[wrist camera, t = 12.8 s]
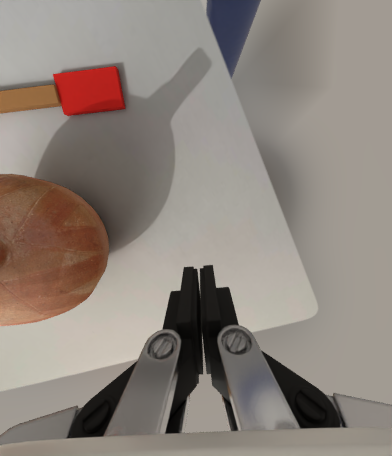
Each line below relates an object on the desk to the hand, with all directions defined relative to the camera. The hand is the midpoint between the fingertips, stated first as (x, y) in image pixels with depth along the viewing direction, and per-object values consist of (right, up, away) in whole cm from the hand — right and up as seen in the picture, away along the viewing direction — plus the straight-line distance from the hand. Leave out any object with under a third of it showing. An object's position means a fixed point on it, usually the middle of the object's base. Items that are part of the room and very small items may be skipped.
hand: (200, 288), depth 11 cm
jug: (-21, +3, +19) cm, 29 cm away
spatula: (-21, +20, +14) cm, 32 cm away
